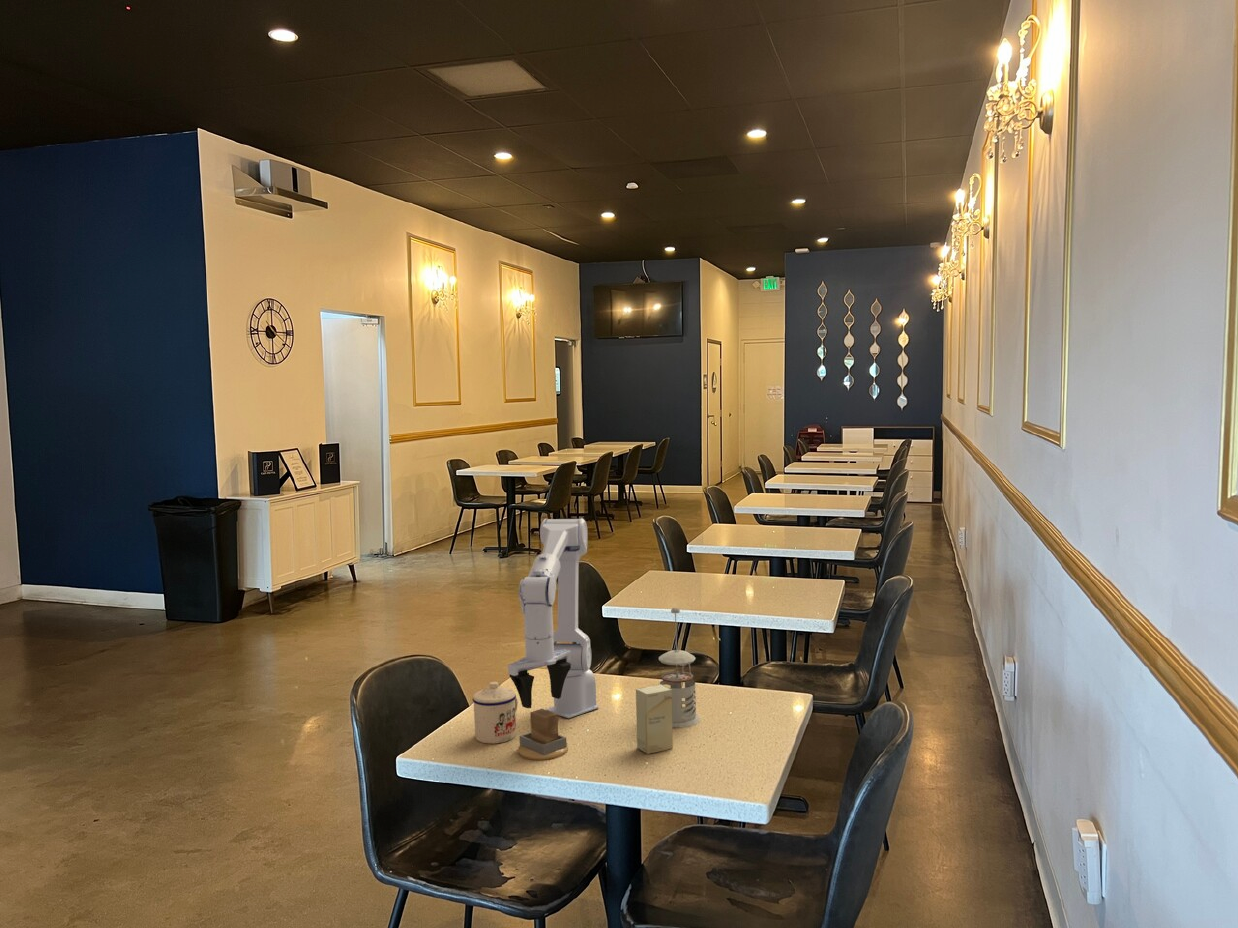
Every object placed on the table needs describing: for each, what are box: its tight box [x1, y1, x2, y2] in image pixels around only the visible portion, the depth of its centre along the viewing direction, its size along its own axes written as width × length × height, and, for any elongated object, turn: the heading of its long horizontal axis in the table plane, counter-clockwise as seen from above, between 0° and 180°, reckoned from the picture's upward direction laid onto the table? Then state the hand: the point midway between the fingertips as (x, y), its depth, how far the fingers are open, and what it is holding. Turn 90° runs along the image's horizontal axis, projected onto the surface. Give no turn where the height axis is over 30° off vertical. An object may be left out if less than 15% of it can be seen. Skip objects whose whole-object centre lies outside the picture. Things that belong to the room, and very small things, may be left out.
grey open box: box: [518, 731, 569, 761], centre depth 182 cm, size 10×10×3 cm
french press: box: [657, 606, 702, 728], centre depth 197 cm, size 10×12×25 cm
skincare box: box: [635, 684, 674, 754], centre depth 181 cm, size 6×4×12 cm
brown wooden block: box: [530, 708, 559, 744], centre depth 181 cm, size 3×5×7 cm, turn 44°
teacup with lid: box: [472, 681, 519, 744], centre depth 191 cm, size 12×9×12 cm
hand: (541, 702), depth 181 cm, fingers open, 7 cm apart
